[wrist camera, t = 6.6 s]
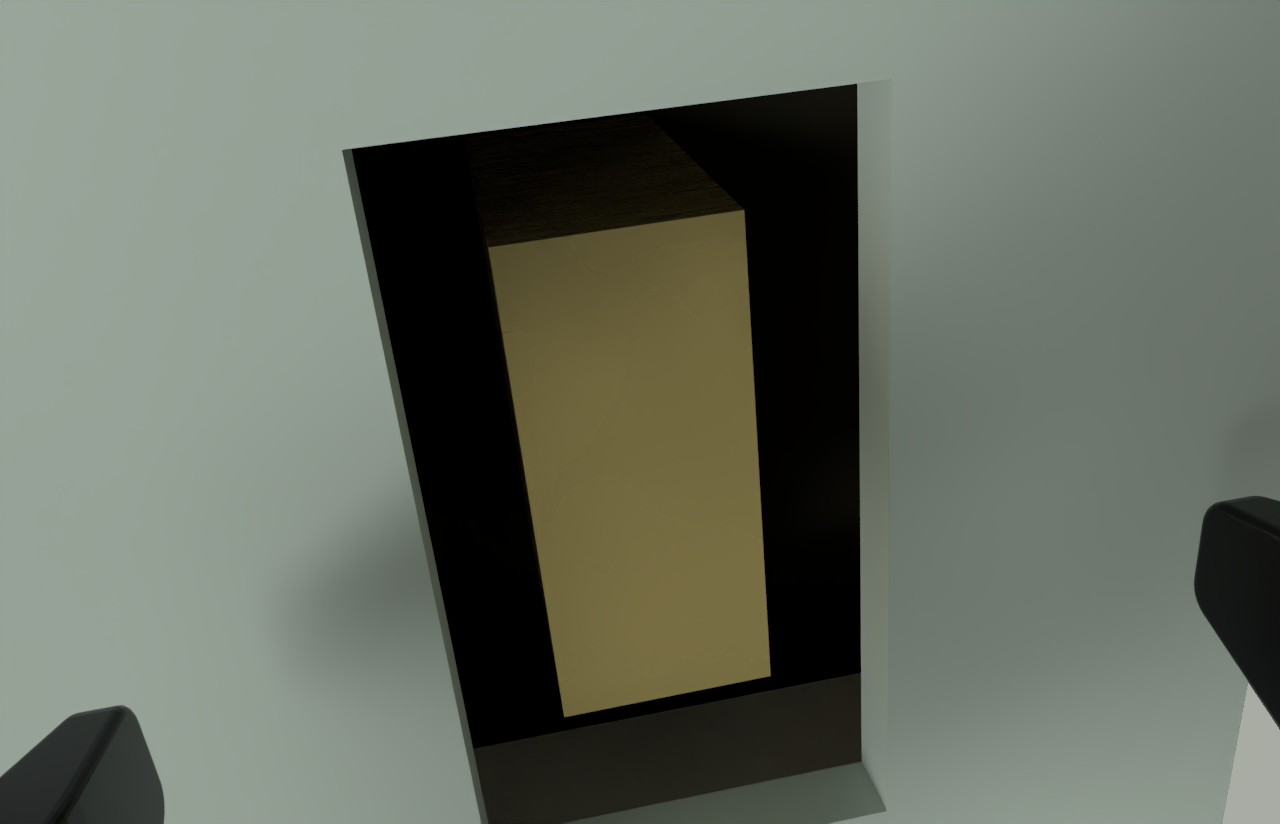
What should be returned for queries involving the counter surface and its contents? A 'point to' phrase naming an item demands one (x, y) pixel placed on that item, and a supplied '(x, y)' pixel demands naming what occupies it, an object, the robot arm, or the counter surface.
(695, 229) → the wood grain tall block
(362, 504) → the box
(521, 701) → the counter surface
